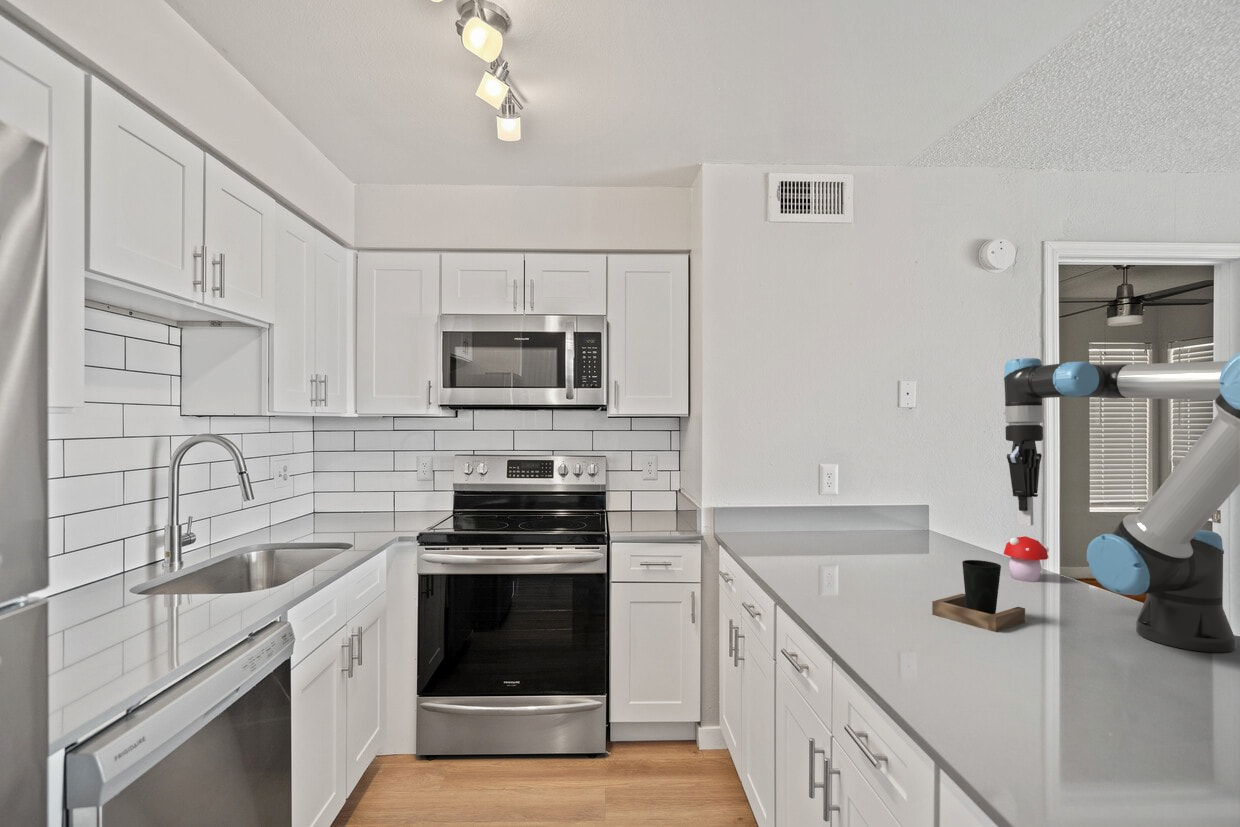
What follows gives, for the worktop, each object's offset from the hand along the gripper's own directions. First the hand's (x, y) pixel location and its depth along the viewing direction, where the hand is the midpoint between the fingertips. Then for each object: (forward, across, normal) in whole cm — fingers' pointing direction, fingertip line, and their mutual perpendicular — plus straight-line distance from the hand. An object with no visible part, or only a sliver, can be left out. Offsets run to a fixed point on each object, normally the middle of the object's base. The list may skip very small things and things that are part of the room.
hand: (1025, 524), depth 151 cm
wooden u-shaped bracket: (+20, +15, -4) cm, 25 cm away
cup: (+20, +14, -4) cm, 25 cm away
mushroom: (+20, -33, -14) cm, 40 cm away
